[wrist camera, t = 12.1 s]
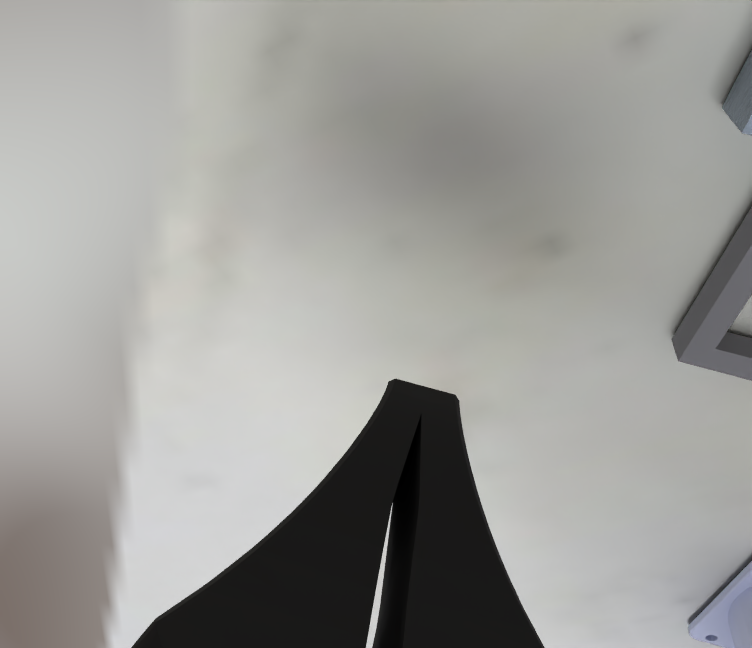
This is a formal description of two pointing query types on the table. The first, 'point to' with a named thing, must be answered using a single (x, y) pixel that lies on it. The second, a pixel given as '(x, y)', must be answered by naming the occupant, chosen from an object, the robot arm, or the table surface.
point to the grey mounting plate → (721, 312)
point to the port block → (741, 99)
